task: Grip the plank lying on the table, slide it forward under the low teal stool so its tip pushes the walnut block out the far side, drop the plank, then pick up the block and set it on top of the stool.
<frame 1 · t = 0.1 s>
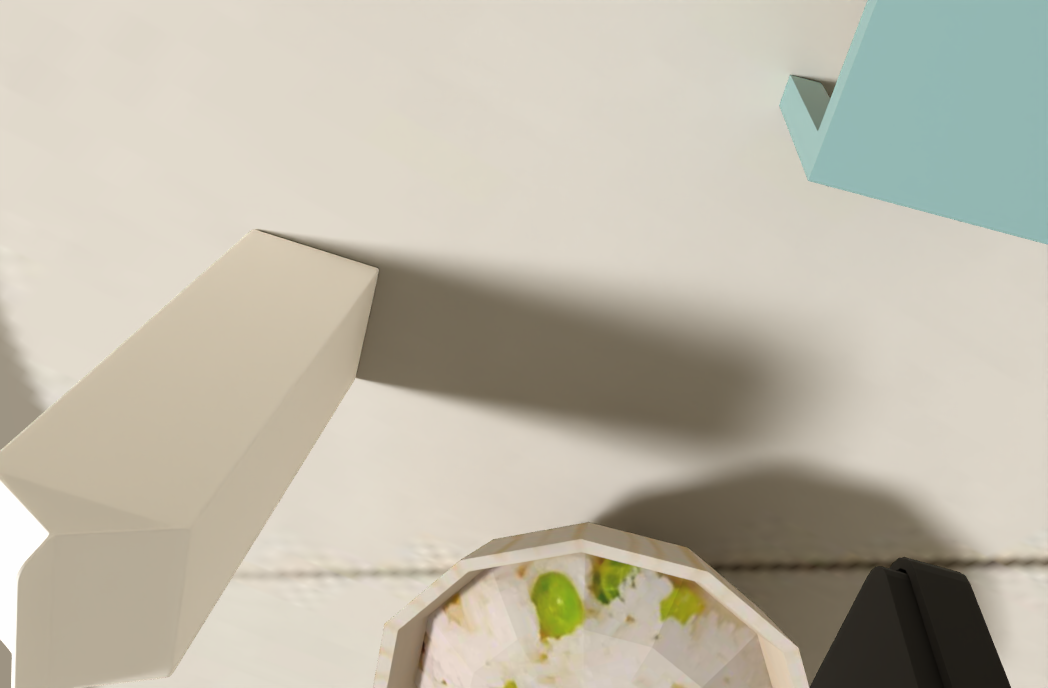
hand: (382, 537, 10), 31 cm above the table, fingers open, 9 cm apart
bowl: (603, 581, 49), on the table
milk: (307, 303, 45), on the table
teal stool: (942, 32, 36), on the table
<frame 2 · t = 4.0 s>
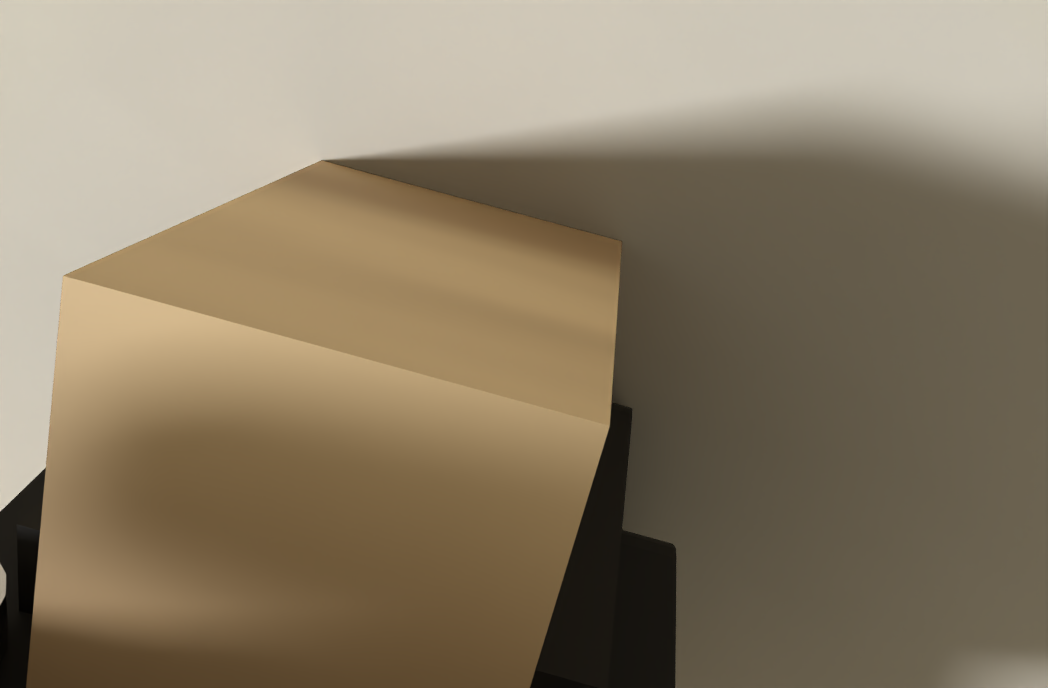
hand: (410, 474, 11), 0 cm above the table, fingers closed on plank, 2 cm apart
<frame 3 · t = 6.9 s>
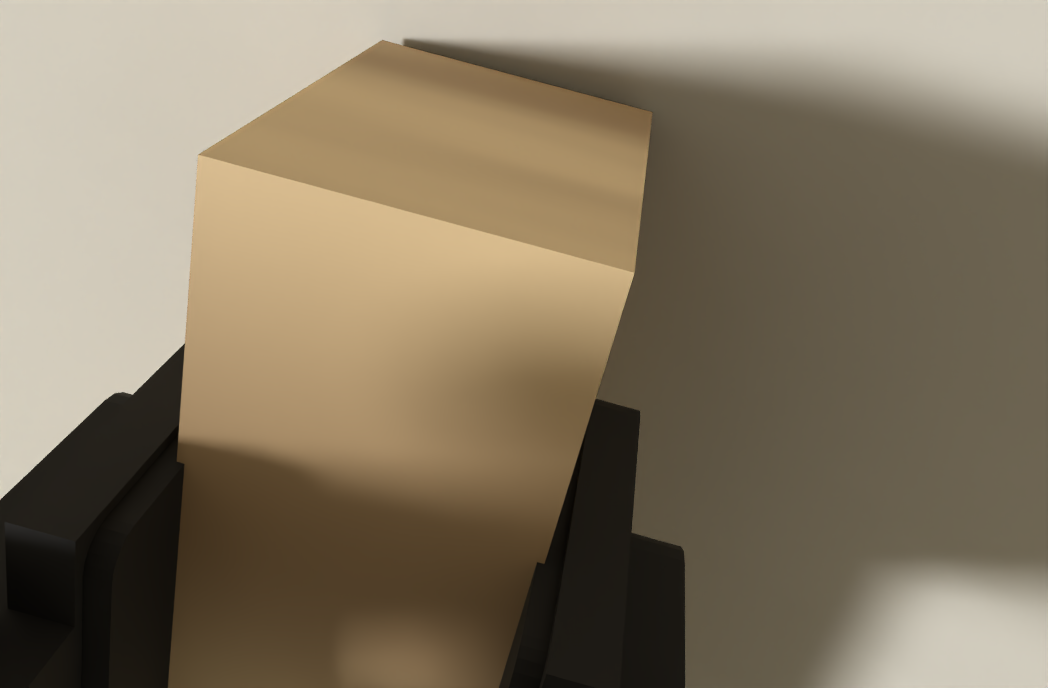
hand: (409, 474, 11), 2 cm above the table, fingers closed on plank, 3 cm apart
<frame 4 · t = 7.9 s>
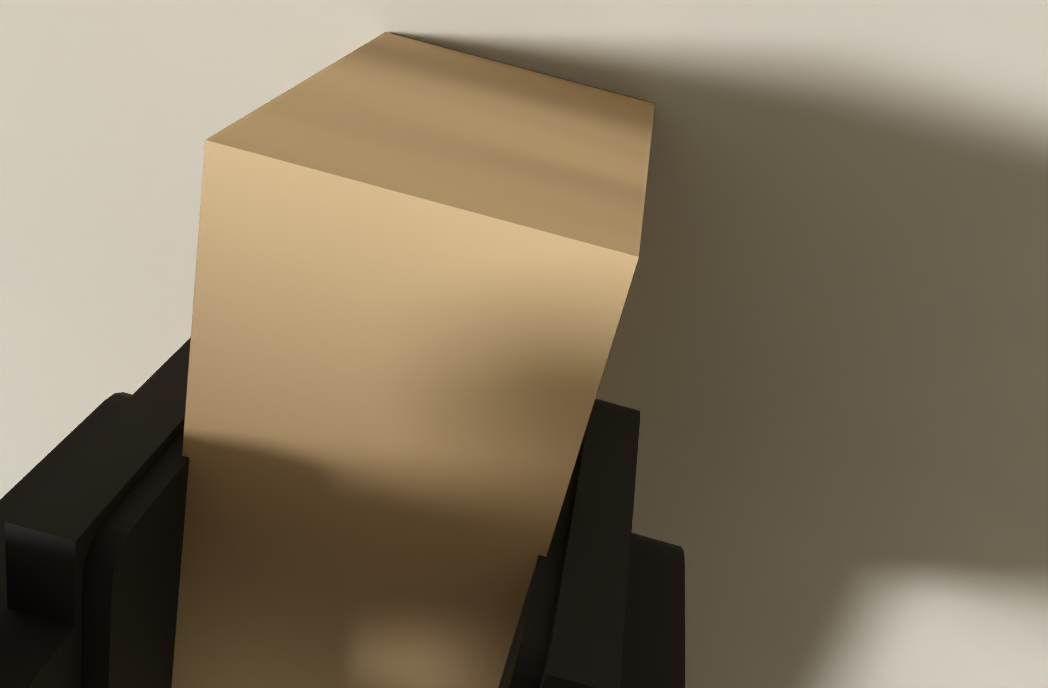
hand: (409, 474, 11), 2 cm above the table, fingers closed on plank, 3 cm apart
when the fingers open (2 cm above the table, at t = 9.9 s): plank stays where it is, on the table.
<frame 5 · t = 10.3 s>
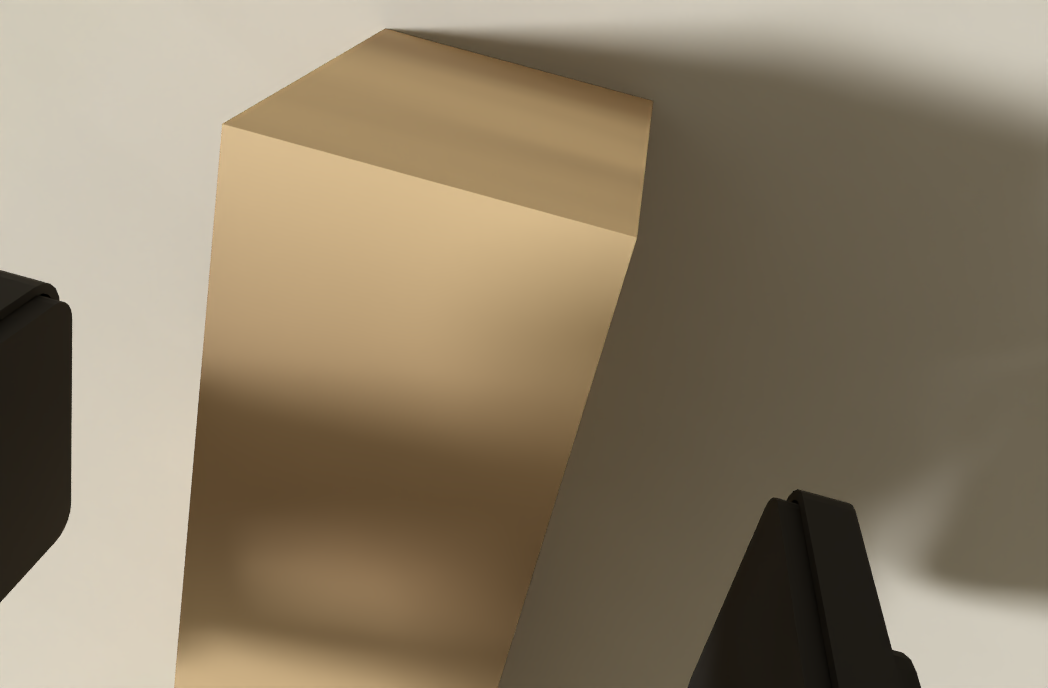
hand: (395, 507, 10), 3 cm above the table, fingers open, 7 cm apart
plank: (379, 686, 15), on the table
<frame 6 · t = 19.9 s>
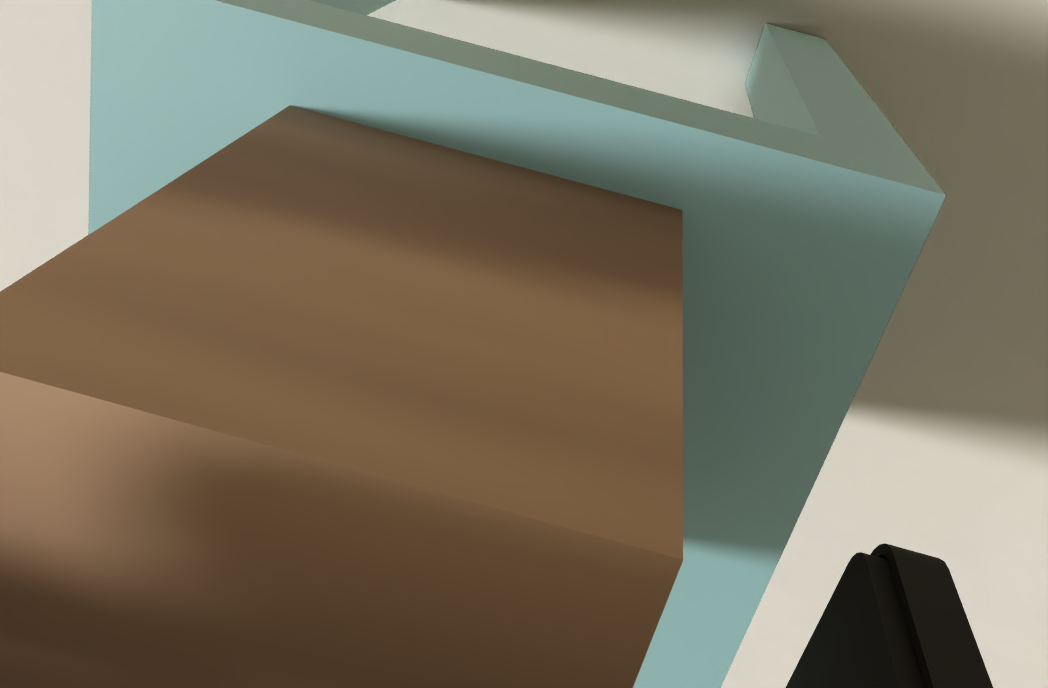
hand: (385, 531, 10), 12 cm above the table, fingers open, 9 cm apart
block: (447, 332, 12), point 10 cm above the table, touching teal stool
teal stool: (542, 170, 21), on the table
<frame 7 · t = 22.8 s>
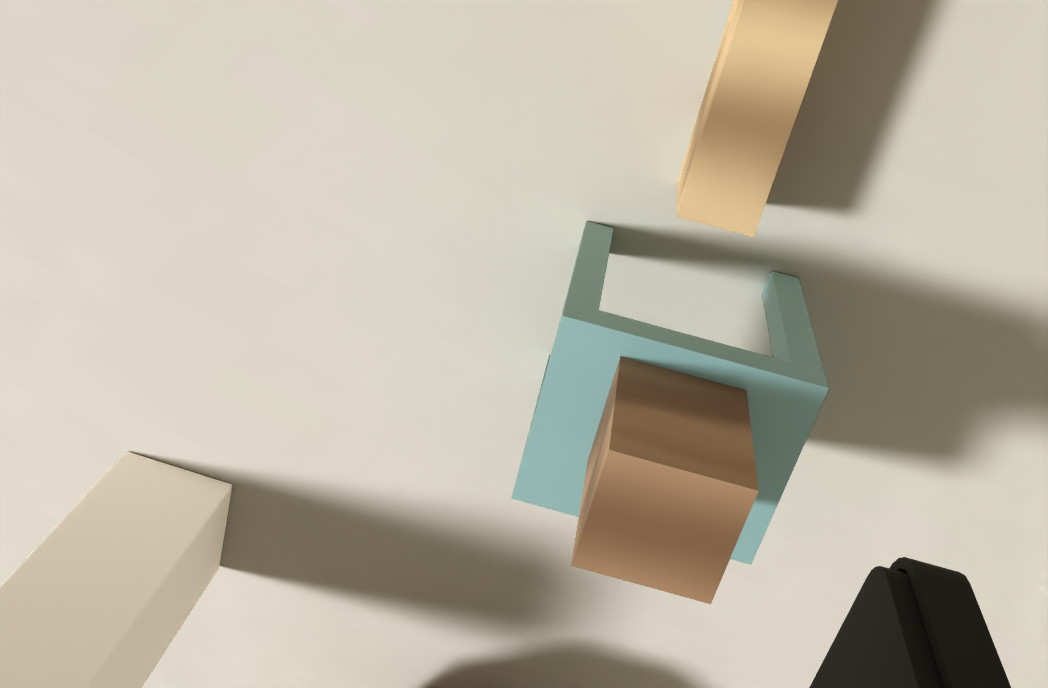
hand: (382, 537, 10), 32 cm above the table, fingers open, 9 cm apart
milk: (176, 507, 53), on the table
block: (664, 426, 35), point 10 cm above the table, touching teal stool
teal stool: (665, 329, 44), on the table
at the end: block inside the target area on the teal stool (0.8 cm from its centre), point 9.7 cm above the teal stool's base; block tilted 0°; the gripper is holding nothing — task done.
